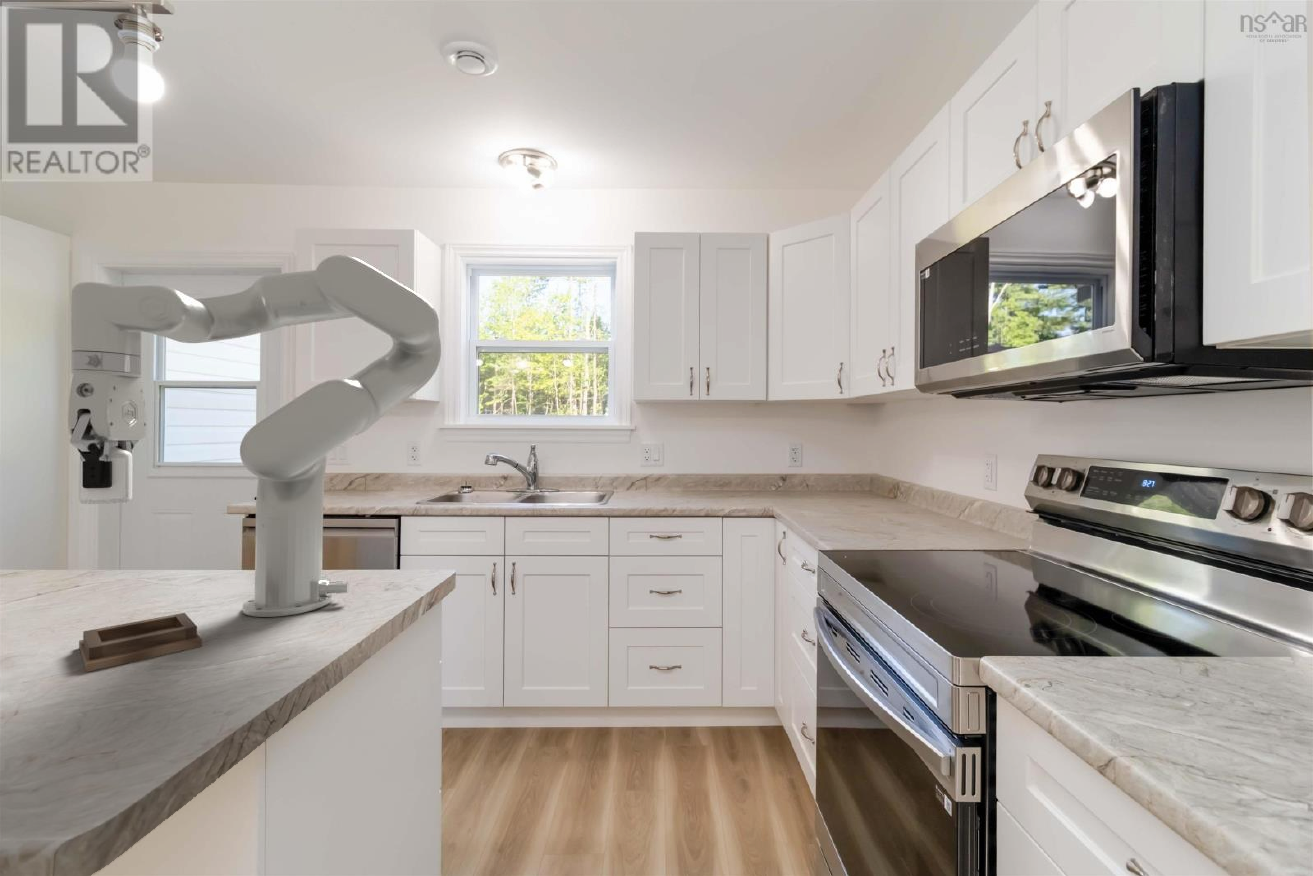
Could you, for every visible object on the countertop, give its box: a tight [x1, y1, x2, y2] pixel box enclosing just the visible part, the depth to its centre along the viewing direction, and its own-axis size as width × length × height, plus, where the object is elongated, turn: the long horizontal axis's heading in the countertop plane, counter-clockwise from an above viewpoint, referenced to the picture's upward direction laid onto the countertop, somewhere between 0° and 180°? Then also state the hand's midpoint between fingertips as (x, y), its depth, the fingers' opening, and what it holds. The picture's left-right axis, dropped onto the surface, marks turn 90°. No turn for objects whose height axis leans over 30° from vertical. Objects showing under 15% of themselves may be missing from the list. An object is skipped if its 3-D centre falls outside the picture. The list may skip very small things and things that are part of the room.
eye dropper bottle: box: [78, 437, 134, 505], centre depth 83 cm, size 4×6×12 cm
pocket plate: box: [78, 612, 203, 673], centre depth 74 cm, size 11×11×2 cm
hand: (107, 485), depth 83 cm, fingers closed on eye dropper bottle, 3 cm apart
